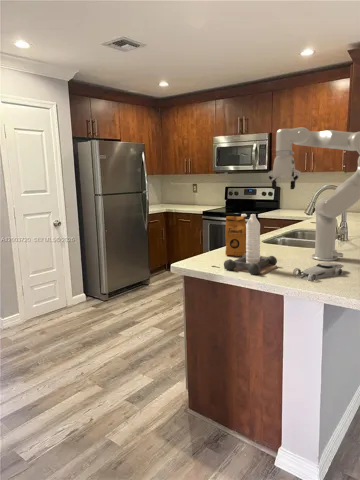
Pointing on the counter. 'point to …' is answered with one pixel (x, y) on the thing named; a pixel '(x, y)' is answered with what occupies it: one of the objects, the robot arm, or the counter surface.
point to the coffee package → (235, 235)
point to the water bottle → (252, 239)
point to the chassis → (251, 265)
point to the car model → (319, 271)
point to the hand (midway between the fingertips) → (283, 189)
